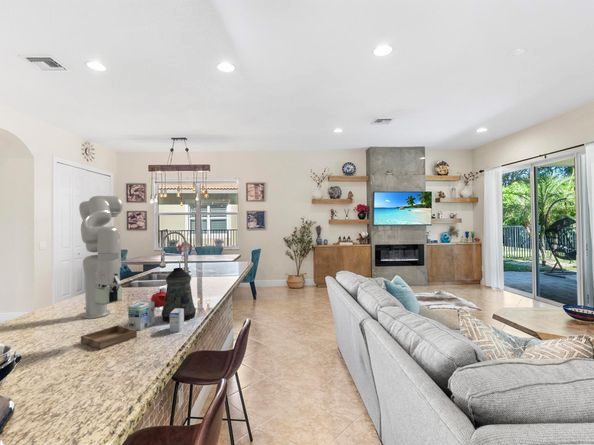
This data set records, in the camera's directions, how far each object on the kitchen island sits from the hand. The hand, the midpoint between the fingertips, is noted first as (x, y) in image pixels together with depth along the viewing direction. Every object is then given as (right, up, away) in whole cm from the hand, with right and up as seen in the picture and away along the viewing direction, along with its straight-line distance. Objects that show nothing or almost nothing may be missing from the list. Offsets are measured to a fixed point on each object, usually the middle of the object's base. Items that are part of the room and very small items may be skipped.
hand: (108, 299), depth 139 cm
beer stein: (+17, -16, +32) cm, 40 cm away
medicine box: (+24, -17, +14) cm, 32 cm away
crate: (0, -17, 0) cm, 17 cm away
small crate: (0, -1, 0) cm, 1 cm away
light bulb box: (+5, -17, +18) cm, 25 cm away
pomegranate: (-2, -16, +56) cm, 59 cm away
